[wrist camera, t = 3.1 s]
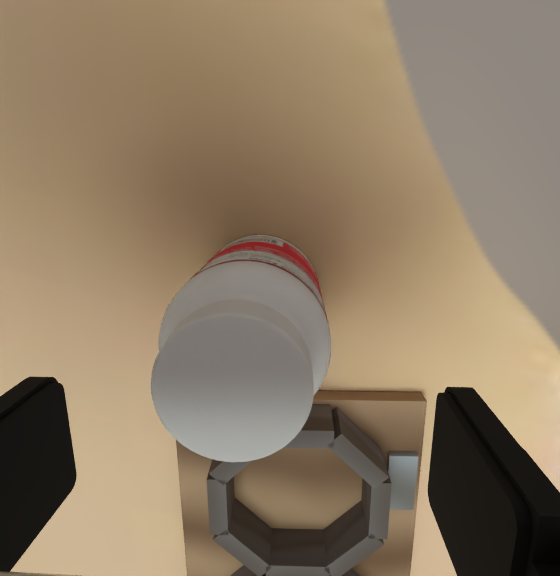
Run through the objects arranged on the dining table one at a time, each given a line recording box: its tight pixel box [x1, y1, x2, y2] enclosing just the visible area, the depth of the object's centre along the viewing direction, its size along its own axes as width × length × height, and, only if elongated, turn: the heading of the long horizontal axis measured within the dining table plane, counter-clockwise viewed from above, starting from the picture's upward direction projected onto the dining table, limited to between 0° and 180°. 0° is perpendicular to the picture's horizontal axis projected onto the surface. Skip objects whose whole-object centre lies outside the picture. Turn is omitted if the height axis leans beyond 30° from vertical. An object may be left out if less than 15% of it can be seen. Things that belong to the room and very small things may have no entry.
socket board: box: [176, 391, 427, 576], centre depth 25 cm, size 20×14×4 cm
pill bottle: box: [151, 235, 331, 462], centre depth 17 cm, size 6×6×11 cm
